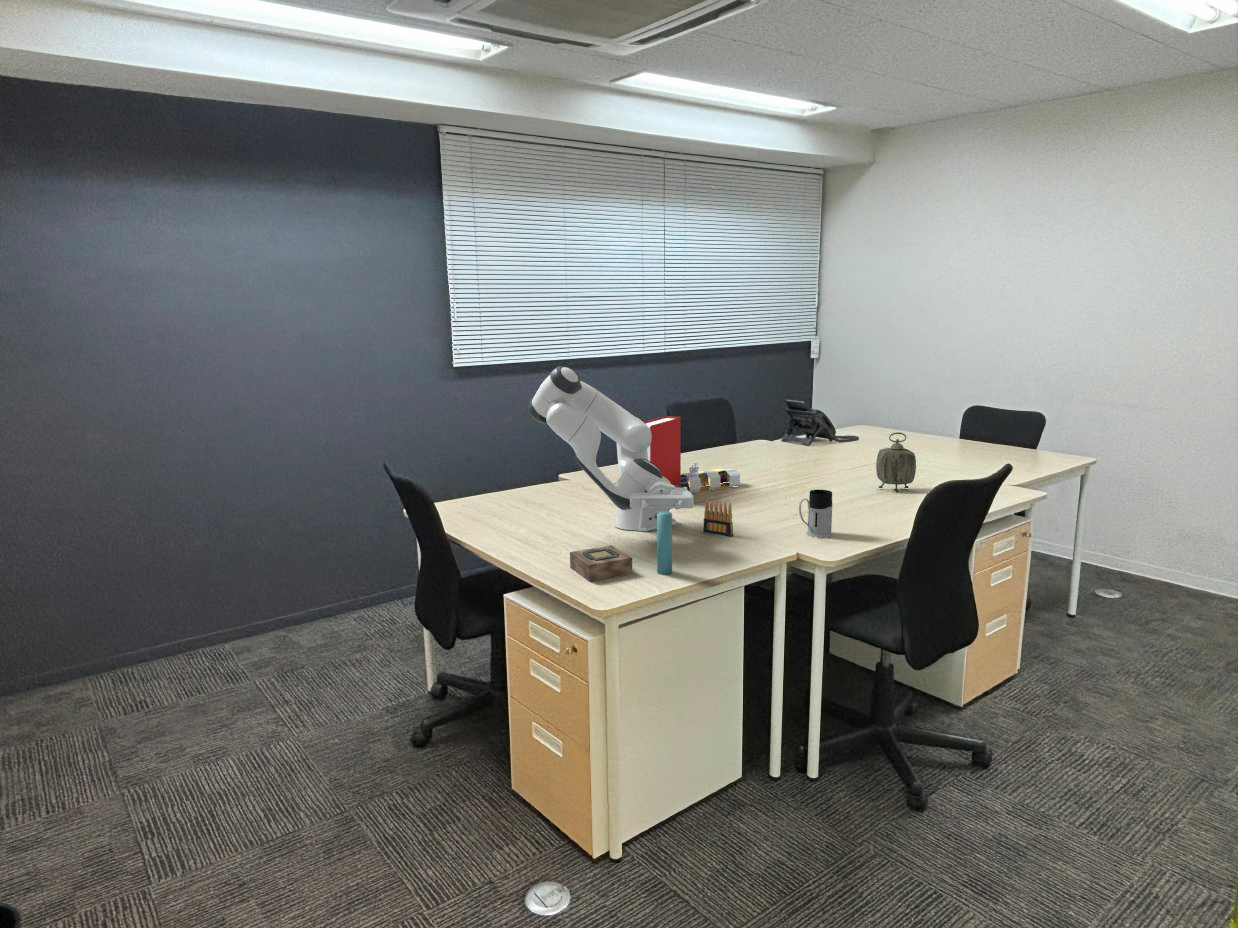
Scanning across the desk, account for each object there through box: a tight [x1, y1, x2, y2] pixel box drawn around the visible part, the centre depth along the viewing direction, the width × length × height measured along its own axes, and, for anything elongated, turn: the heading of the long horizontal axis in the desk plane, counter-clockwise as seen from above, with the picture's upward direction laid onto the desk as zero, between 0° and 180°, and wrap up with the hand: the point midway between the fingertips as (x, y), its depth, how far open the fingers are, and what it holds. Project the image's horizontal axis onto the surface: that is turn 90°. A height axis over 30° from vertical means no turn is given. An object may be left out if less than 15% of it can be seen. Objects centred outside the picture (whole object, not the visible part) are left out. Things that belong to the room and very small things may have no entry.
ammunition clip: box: [702, 498, 734, 538], centre depth 266 cm, size 11×2×12 cm, turn 56°
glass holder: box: [798, 489, 833, 539], centre depth 261 cm, size 9×14×15 cm, turn 122°
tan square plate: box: [589, 551, 611, 558], centre depth 230 cm, size 5×5×1 cm
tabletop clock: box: [875, 431, 917, 492], centre depth 322 cm, size 14×9×25 cm, turn 84°
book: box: [643, 415, 682, 486], centre depth 320 cm, size 27×8×32 cm, turn 149°
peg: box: [656, 511, 673, 576], centre depth 227 cm, size 4×4×18 cm
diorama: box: [681, 462, 741, 494], centre depth 334 cm, size 25×10×13 cm, turn 115°
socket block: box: [569, 545, 633, 582], centre depth 230 cm, size 14×14×5 cm
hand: (662, 506), depth 237 cm, fingers open, 8 cm apart
